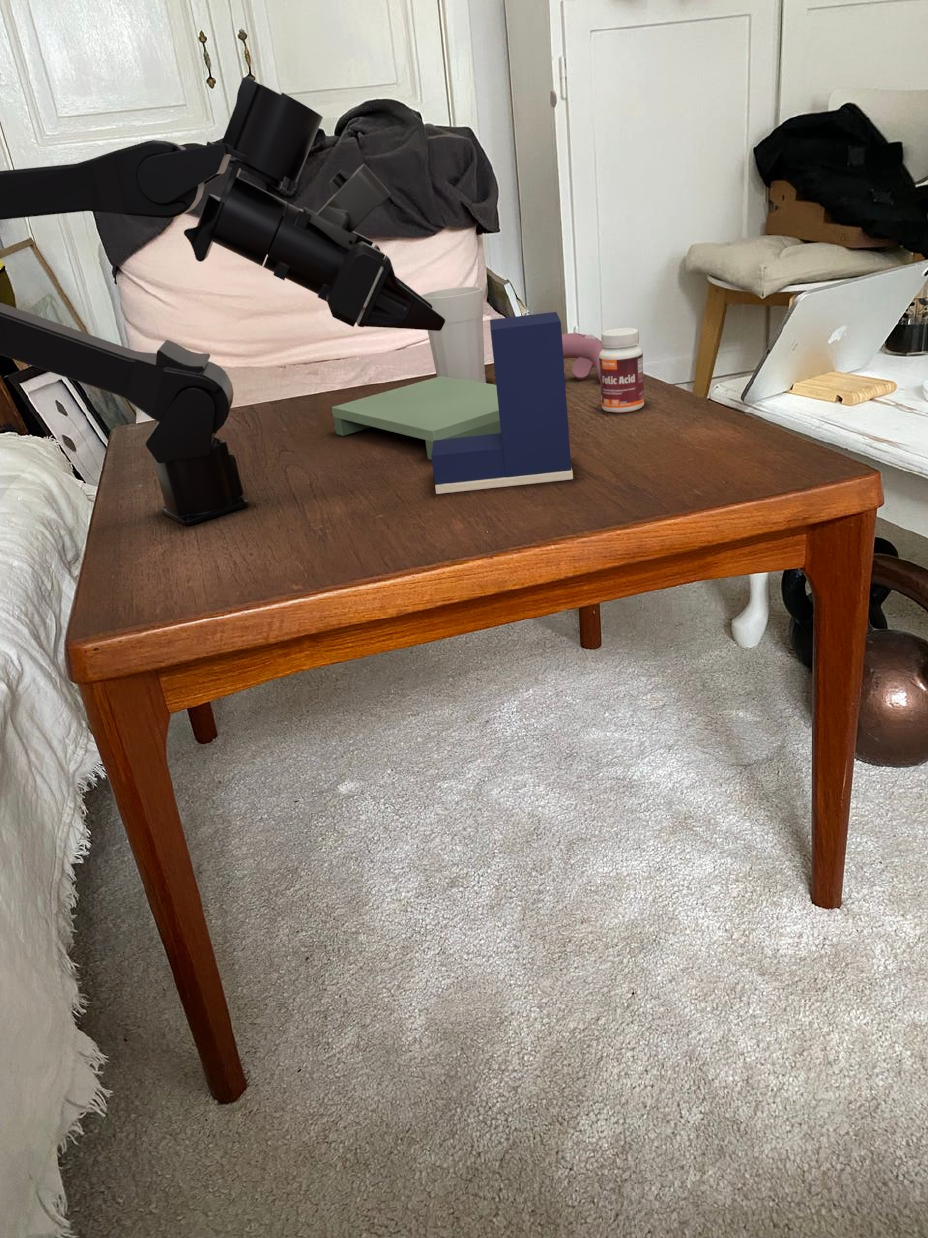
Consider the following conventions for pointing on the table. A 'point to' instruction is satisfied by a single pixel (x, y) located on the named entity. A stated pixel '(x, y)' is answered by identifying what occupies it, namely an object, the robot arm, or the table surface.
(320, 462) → the table surface
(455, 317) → the cup
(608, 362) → the pill bottle
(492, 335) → the boot
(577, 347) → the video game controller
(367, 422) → the shoe shelf
